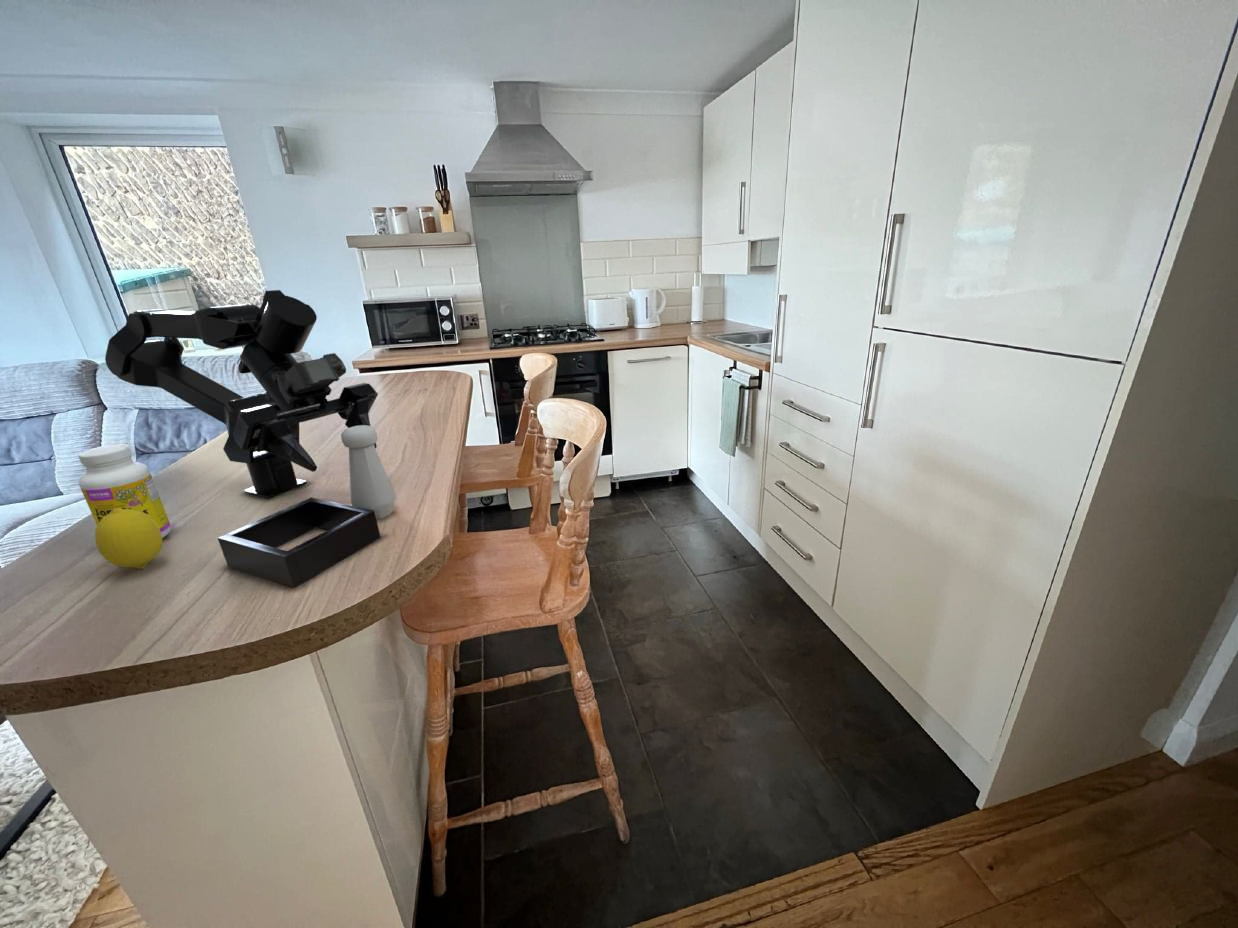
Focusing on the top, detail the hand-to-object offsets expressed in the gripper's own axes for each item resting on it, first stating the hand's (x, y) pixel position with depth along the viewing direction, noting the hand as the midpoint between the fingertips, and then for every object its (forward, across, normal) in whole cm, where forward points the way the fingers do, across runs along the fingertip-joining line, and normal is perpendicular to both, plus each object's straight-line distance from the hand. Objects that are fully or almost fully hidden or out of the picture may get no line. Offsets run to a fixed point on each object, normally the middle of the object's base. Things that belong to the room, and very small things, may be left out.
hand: (346, 458), depth 72 cm
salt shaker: (+9, 0, +3) cm, 9 cm away
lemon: (-1, -22, +13) cm, 26 cm away
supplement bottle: (-8, -19, +19) cm, 28 cm away
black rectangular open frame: (+9, -11, +2) cm, 14 cm away
